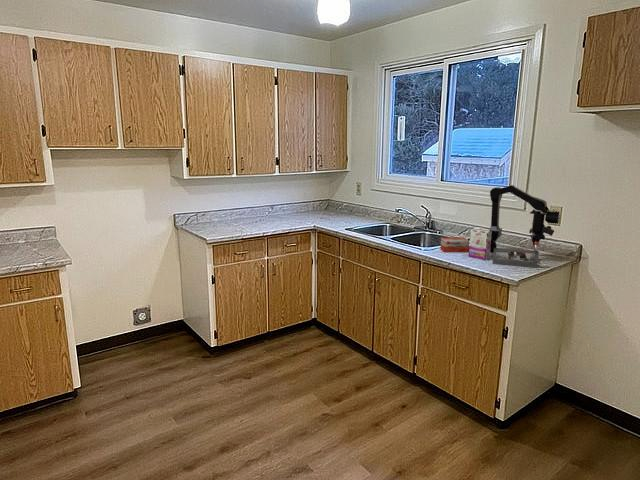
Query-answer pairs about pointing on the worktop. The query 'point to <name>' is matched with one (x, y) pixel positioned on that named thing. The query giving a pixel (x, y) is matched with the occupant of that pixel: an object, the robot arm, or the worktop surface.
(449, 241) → the medicine box
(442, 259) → the worktop surface
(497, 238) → the robot arm
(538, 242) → the handle
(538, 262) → the ram track
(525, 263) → the press bed
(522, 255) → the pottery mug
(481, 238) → the candy bar box
